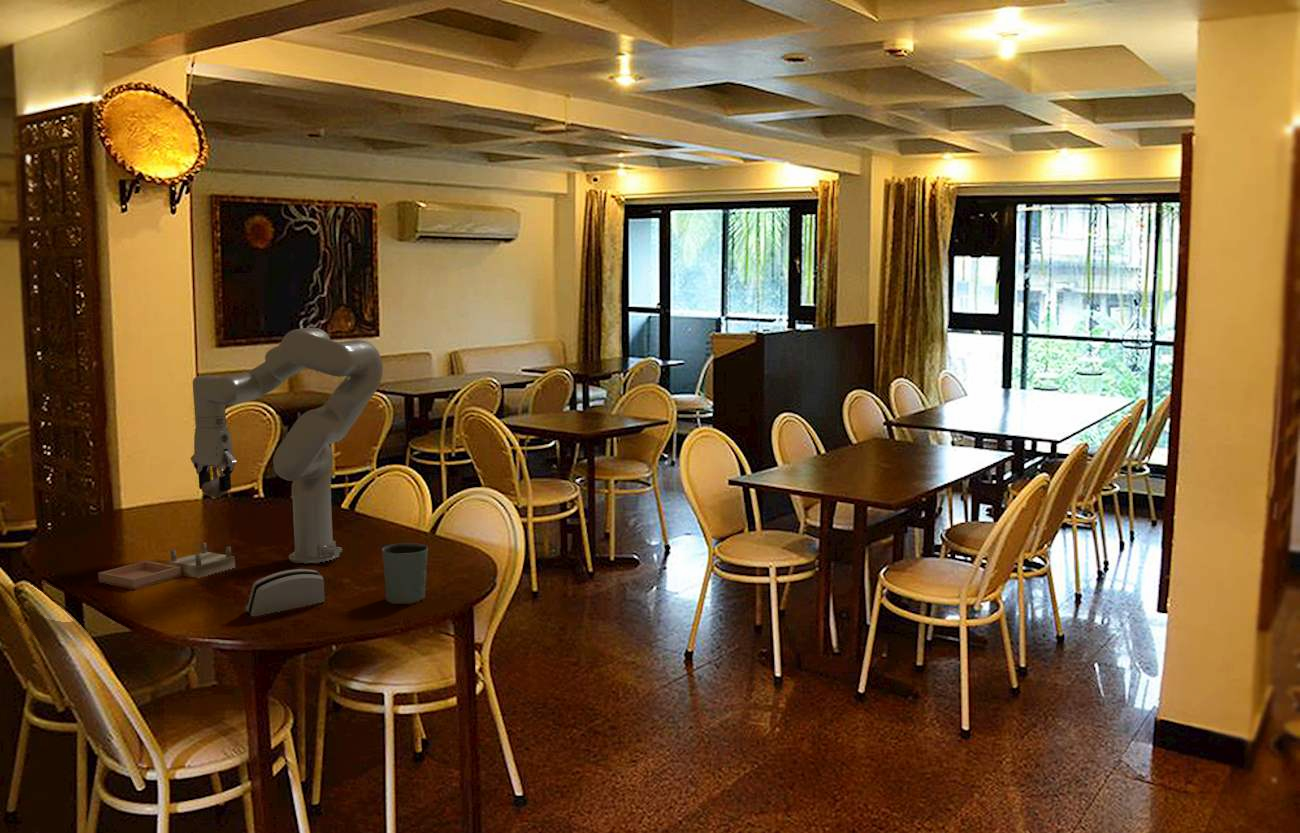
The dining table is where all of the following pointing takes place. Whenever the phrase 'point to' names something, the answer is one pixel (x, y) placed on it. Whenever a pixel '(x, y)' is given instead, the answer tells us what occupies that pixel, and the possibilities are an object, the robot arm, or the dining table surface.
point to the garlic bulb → (213, 486)
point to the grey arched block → (286, 591)
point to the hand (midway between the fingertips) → (215, 489)
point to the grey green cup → (405, 572)
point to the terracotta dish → (139, 574)
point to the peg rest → (203, 562)
